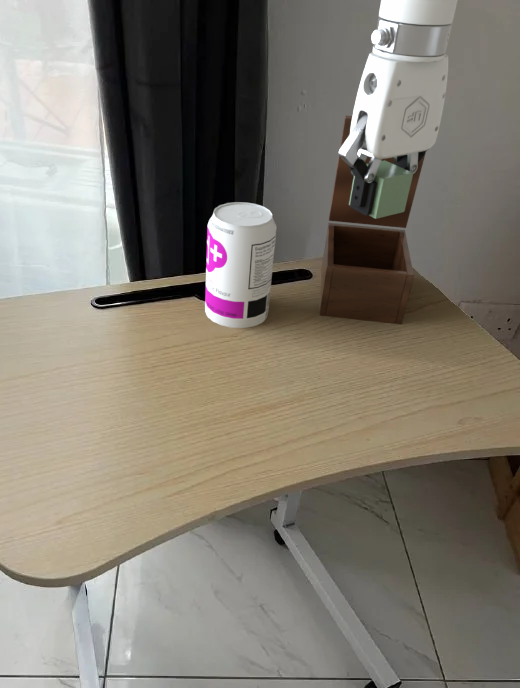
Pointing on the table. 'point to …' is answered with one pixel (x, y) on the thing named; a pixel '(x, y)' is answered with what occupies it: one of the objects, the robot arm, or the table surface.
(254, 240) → the supplement can
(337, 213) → the lid
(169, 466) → the table surface
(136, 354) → the table surface
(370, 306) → the chest
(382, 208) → the block
